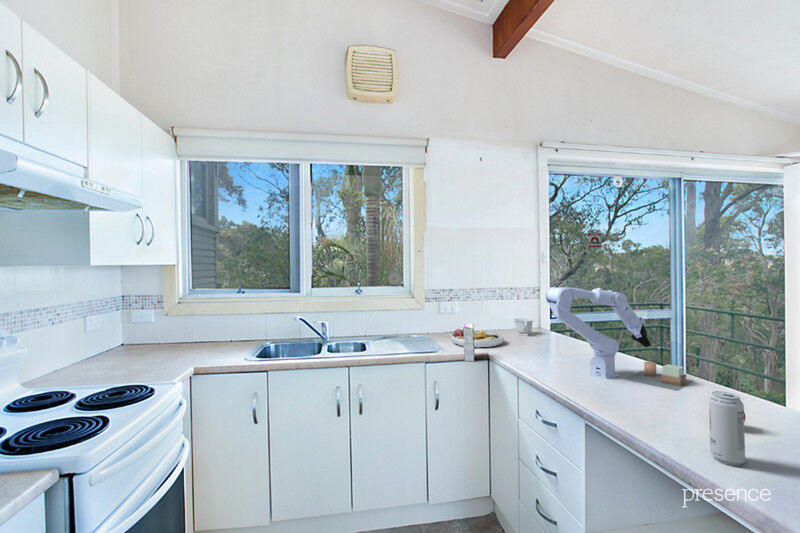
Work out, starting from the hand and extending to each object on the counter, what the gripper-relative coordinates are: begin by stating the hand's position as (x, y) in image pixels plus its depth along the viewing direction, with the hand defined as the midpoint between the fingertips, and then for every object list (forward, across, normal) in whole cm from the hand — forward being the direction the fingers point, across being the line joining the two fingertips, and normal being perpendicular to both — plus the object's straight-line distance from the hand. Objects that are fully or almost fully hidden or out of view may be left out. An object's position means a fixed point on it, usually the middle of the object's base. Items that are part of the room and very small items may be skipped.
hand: (646, 340), depth 154 cm
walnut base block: (+8, -18, -2) cm, 20 cm away
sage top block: (+5, -17, -4) cm, 18 cm away
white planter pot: (+6, +57, +68) cm, 89 cm away
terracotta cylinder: (+8, -11, +5) cm, 14 cm away
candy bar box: (-29, -7, +69) cm, 75 cm away
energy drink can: (-14, -73, -12) cm, 75 cm away
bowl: (-18, +27, +81) cm, 87 cm away
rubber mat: (+7, -16, +2) cm, 18 cm away
